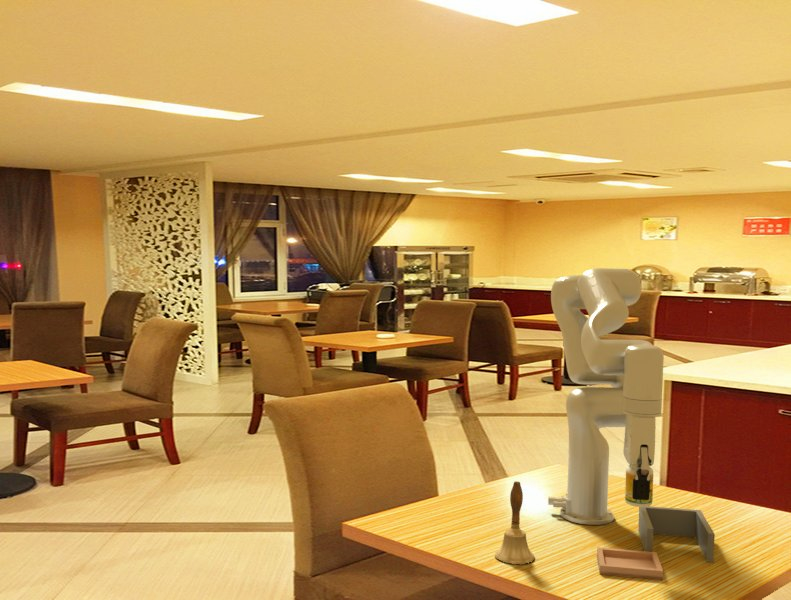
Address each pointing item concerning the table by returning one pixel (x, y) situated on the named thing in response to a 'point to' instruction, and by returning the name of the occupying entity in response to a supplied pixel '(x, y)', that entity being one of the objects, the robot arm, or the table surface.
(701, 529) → the bay
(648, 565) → the tray
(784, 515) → the table surface
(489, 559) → the table surface
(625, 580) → the table surface
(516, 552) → the hand bell
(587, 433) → the robot arm
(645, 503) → the supplement bottle
